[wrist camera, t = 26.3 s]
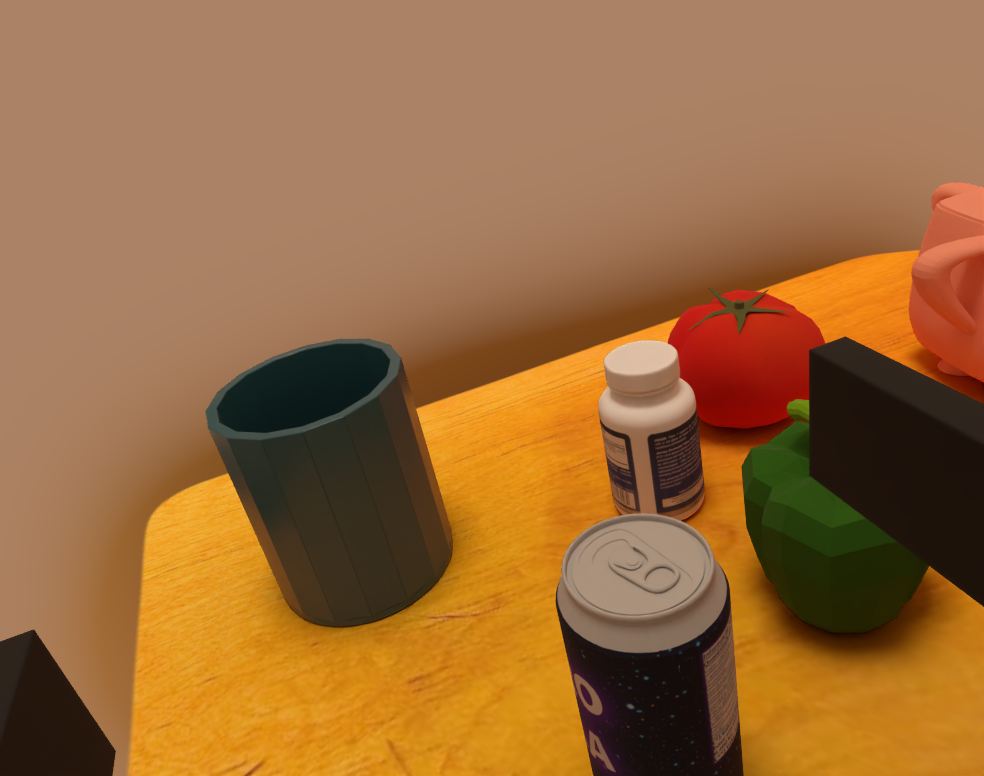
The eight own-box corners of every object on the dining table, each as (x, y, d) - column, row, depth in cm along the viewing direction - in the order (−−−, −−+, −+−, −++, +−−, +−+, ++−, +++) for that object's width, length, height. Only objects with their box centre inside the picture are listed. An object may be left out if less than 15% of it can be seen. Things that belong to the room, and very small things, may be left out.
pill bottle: (709, 473, 47) (697, 331, 43) (700, 531, 43) (686, 380, 38) (622, 471, 49) (601, 335, 45) (605, 526, 45) (581, 382, 41)
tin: (249, 612, 45) (163, 434, 39) (342, 501, 53) (282, 339, 47) (403, 640, 40) (333, 443, 35) (478, 513, 49) (431, 337, 43)
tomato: (695, 372, 58) (685, 268, 54) (841, 385, 53) (843, 271, 49) (650, 439, 52) (636, 327, 48) (811, 462, 46) (811, 338, 42)
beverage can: (659, 703, 34) (627, 486, 28) (774, 784, 30) (764, 548, 24) (569, 794, 31) (514, 572, 26) (683, 897, 27) (647, 659, 21)
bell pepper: (980, 637, 34) (1005, 449, 29) (795, 678, 34) (790, 497, 29) (877, 520, 41) (884, 355, 36) (725, 554, 41) (713, 393, 36)
